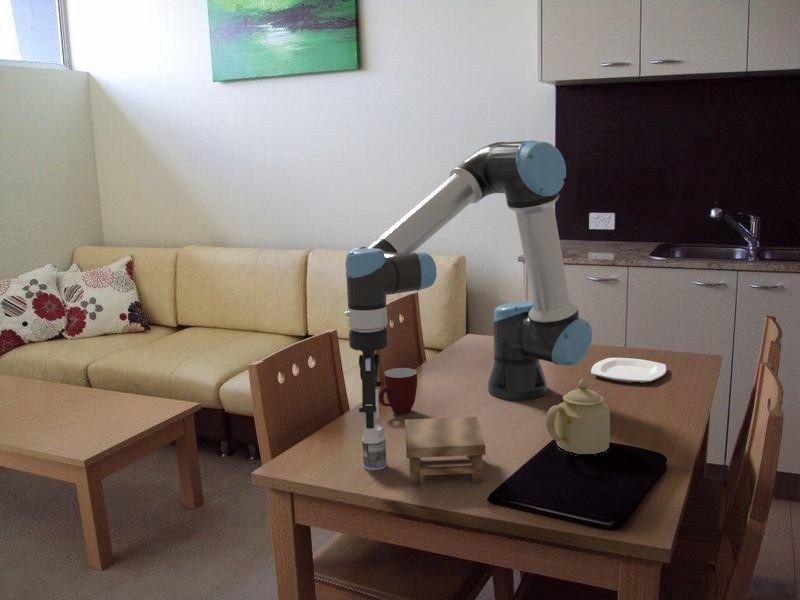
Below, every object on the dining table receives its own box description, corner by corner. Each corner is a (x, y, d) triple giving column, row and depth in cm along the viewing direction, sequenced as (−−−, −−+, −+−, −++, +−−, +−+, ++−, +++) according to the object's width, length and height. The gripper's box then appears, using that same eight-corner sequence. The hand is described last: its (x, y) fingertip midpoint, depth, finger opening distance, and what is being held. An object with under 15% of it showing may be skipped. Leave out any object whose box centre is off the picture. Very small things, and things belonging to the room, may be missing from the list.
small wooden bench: (477, 452, 161) (476, 416, 159) (486, 484, 146) (485, 444, 144) (406, 455, 161) (404, 419, 159) (407, 487, 146) (406, 448, 144)
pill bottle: (363, 462, 158) (361, 423, 157) (385, 460, 159) (384, 422, 157) (364, 471, 154) (361, 432, 152) (387, 470, 154) (385, 430, 152)
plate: (673, 370, 211) (673, 363, 211) (655, 390, 195) (655, 383, 195) (604, 361, 221) (605, 355, 221) (582, 380, 205) (582, 373, 205)
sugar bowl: (598, 467, 151) (599, 395, 148) (543, 458, 156) (543, 389, 153) (614, 440, 164) (615, 373, 161) (564, 433, 169) (564, 368, 166)
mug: (394, 423, 179) (393, 382, 177) (371, 415, 185) (369, 376, 183) (425, 410, 186) (423, 371, 184) (401, 403, 192) (400, 365, 190)
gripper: (352, 314, 162) (356, 409, 167) (344, 344, 138) (349, 454, 142) (387, 313, 162) (390, 408, 167) (386, 343, 138) (390, 453, 142)
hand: (371, 430), depth 154 cm, fingers open, 13 cm apart
